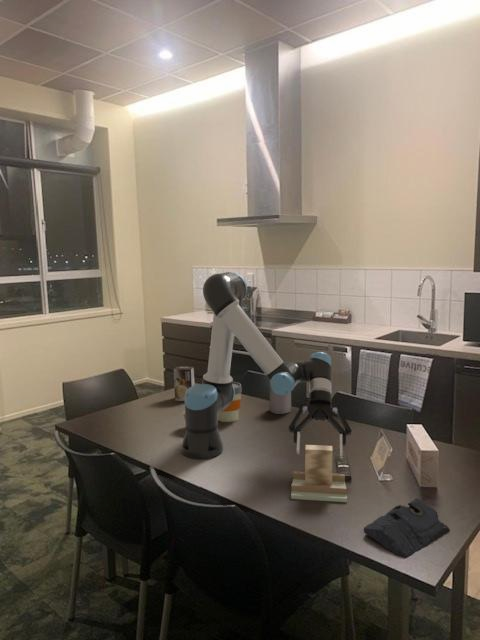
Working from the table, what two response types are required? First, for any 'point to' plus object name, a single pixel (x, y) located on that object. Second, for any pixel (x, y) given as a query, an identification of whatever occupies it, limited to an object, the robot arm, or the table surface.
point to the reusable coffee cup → (232, 406)
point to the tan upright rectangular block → (318, 464)
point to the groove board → (319, 489)
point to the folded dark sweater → (407, 528)
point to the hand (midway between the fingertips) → (319, 453)
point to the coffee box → (183, 381)
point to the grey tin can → (280, 403)
